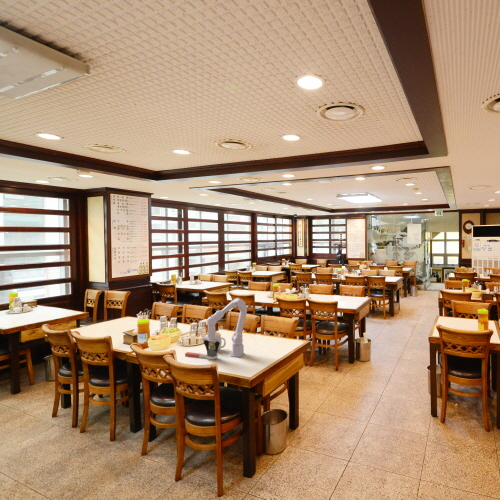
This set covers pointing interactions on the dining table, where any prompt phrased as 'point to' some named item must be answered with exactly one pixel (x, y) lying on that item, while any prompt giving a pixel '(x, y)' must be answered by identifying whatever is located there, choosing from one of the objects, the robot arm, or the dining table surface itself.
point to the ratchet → (201, 356)
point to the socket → (211, 352)
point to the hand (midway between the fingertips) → (212, 350)
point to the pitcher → (211, 344)
